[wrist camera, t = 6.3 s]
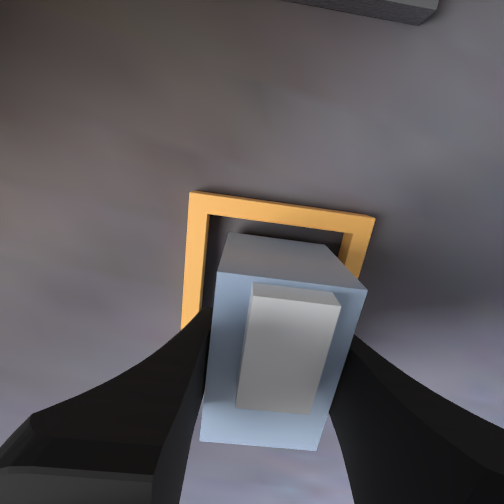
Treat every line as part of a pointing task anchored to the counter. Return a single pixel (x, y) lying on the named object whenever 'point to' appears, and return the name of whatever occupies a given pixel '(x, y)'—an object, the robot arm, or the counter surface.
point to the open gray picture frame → (381, 8)
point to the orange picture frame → (268, 211)
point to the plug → (277, 341)
